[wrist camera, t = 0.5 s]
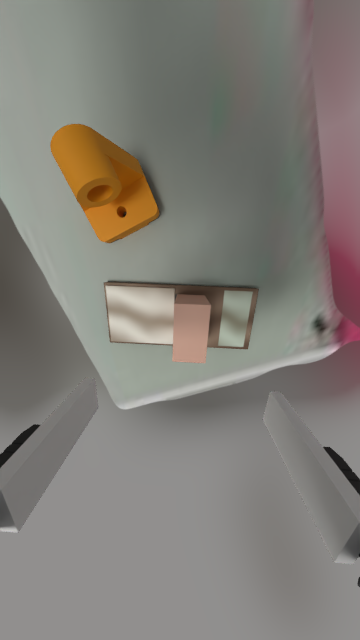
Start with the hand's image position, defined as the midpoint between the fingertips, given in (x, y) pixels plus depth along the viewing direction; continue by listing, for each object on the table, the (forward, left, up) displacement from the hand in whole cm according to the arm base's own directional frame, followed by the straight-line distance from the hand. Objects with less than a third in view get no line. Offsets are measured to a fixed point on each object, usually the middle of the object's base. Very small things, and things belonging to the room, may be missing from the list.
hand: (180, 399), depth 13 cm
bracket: (-18, -11, -22) cm, 31 cm away
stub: (0, +1, -20) cm, 20 cm away
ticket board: (0, -1, -22) cm, 22 cm away
